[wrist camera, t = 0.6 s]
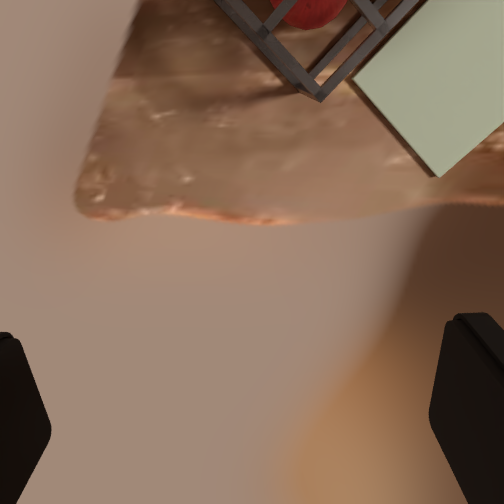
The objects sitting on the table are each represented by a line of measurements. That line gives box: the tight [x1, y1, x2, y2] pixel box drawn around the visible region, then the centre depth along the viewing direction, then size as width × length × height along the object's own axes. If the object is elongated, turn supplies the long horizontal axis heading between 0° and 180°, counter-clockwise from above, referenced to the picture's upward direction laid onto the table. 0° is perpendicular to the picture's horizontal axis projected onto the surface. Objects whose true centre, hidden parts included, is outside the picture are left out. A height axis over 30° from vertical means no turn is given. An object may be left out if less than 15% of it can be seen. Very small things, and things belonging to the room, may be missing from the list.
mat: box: [351, 0, 504, 178], centre depth 33 cm, size 12×12×1 cm
